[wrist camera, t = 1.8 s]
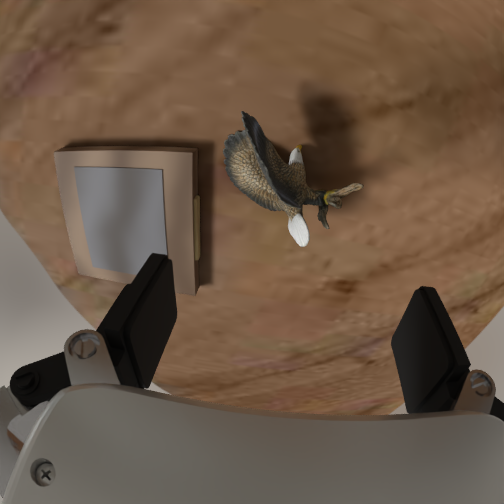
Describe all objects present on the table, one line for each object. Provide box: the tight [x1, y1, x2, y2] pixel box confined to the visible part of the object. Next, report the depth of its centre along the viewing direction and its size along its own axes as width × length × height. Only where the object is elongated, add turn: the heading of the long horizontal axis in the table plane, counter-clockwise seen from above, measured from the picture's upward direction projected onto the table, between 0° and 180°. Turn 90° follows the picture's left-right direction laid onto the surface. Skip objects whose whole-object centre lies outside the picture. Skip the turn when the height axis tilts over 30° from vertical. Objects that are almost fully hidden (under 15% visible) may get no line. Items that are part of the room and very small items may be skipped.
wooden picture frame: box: [54, 146, 200, 296], centre depth 27 cm, size 14×14×2 cm
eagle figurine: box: [223, 111, 363, 247], centre depth 21 cm, size 8×7×9 cm
